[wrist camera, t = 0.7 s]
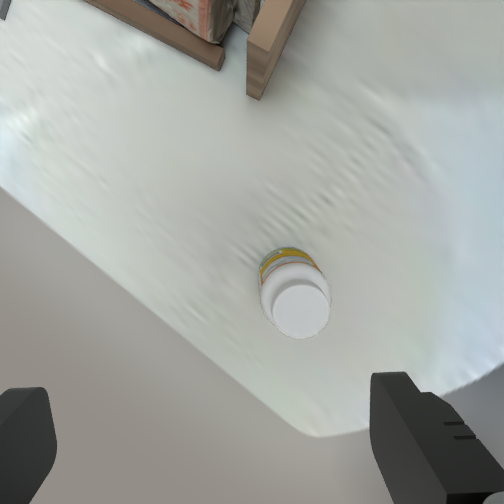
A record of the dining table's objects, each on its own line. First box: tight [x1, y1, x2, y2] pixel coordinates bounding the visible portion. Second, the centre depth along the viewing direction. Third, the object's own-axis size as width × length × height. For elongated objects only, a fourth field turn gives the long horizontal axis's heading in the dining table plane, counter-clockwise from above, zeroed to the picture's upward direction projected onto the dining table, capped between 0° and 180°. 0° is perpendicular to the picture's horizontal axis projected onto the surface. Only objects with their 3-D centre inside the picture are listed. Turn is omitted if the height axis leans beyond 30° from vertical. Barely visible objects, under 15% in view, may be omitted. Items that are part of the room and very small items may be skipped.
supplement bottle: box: [258, 247, 332, 339], centre depth 31 cm, size 5×5×10 cm
